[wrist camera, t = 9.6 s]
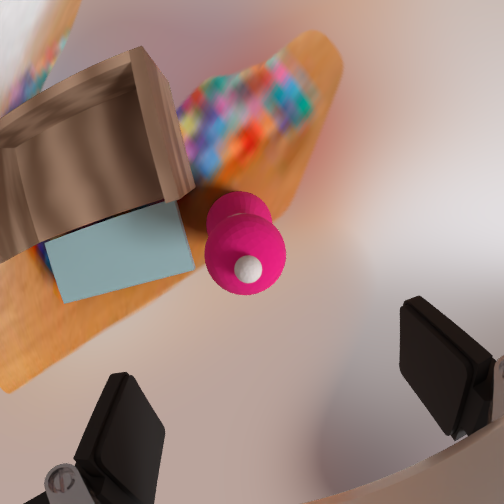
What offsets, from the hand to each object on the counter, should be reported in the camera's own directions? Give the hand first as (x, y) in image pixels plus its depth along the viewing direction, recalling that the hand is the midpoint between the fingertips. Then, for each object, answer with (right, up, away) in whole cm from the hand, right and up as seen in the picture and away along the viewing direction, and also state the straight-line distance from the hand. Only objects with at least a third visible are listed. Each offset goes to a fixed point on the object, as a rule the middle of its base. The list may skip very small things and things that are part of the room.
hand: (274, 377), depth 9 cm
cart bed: (-20, +16, +25) cm, 36 cm away
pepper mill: (-2, +8, +29) cm, 30 cm away
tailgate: (-18, +7, +22) cm, 29 cm away
